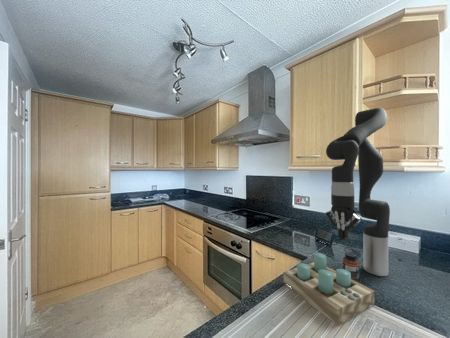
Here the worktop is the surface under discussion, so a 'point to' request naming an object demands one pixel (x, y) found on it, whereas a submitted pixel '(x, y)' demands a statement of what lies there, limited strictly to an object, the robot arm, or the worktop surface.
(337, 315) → the console
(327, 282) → the button
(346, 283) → the button
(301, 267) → the button
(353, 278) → the supplement bottle
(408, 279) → the worktop surface
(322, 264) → the button
